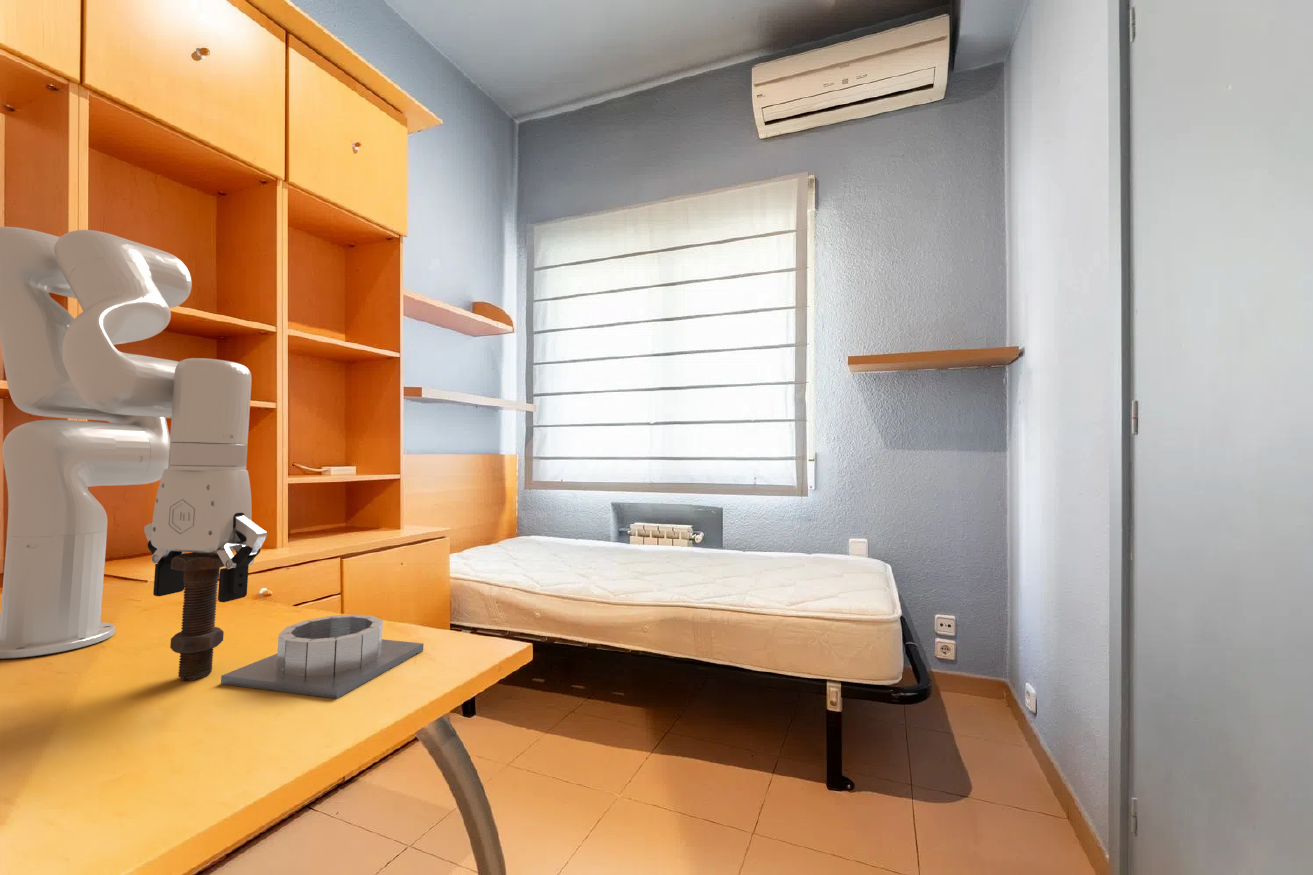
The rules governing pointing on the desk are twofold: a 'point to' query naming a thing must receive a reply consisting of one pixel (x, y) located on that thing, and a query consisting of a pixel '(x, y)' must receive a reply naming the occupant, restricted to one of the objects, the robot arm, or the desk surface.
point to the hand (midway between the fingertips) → (200, 596)
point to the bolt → (197, 614)
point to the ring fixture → (325, 657)
